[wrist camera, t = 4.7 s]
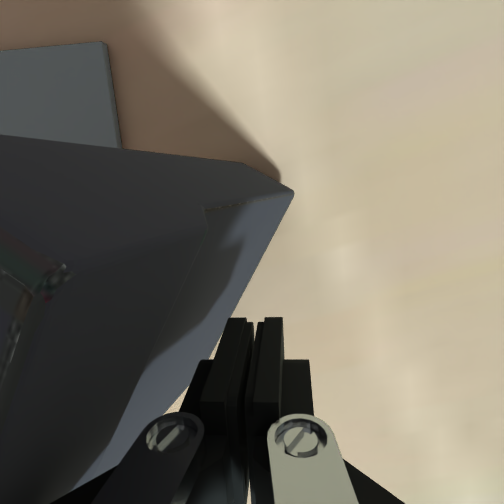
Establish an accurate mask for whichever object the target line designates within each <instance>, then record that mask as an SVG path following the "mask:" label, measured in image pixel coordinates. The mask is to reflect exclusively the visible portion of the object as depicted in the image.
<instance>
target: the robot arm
mask: <svg viewBox="0 0 504 504" xmlns="http://www.w3.org/2000/svg"><path fill="white" fill-rule="evenodd" d="M249 479H250V491H251V504H405V503H404V502H402V501H401V500H399V499H398V498H397V497H395V496H394V495H393V494H391V493H390V492H388V491H387V490H386V489H384V488H383V487H381V486H380V485H379V484H377V483H376V482H374V481H373V480H372V479H370V478H369V477H368V476H366V475H365V474H363V473H362V472H361V471H359V470H358V469H356V468H355V467H354V466H352V465H351V464H350V463H348V462H347V461H345V460H344V459H343V458H342V455H341V452H340V450H339V447H338V444H337V441H336V438H335V436H334V433H333V431H332V430H331V428H330V426H329V425H327V424H326V423H325V422H324V421H323V420H321V419H319V418H317V417H315V416H314V410H313V399H312V387H311V376H310V364H309V360H284V337H283V317H265V320H264V322H258V325H257V331H256V336H255V341H254V326H253V322H247V319H246V318H228V320H227V323H226V326H225V328H224V331H223V334H222V337H221V340H220V343H219V346H218V349H217V352H216V354H215V357H214V359H202V360H200V362H199V363H198V366H197V368H196V371H195V373H194V376H193V378H192V381H191V383H190V385H189V388H188V390H187V393H186V395H185V398H184V400H183V403H182V405H181V408H180V410H179V412H173V413H168V414H165V415H162V416H160V417H158V418H156V419H155V420H153V421H152V422H150V423H149V424H148V425H147V426H146V427H145V428H144V429H143V430H142V432H141V433H140V435H139V436H138V438H137V439H136V440H135V442H134V443H133V445H132V446H131V447H130V449H129V450H128V452H127V453H126V454H125V456H124V457H123V459H122V460H121V462H120V463H119V464H118V465H117V466H115V467H113V468H111V469H110V470H108V471H106V472H104V473H103V474H101V475H99V476H97V477H96V478H94V479H92V480H90V481H89V482H87V483H85V484H83V485H81V486H80V487H78V488H76V489H74V490H73V491H71V492H69V493H67V494H66V495H64V496H62V497H60V498H59V499H57V500H55V501H53V502H51V503H50V504H247V496H248V488H249Z"/></svg>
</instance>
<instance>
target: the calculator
mask: <svg viewBox="0 0 504 504" xmlns="http://www.w3.org/2000/svg"><path fill="white" fill-rule="evenodd" d="M293 197H294V191H293V190H292V189H290V188H288V187H286V186H285V185H283V184H281V183H279V182H277V181H275V180H274V179H272V178H270V177H268V176H266V175H264V174H263V173H261V172H259V171H257V170H255V169H253V168H251V167H249V166H247V165H246V164H244V163H239V162H231V161H222V160H214V159H205V158H197V157H188V156H180V155H171V154H163V153H154V152H146V151H137V150H129V149H120V148H112V147H103V146H95V145H86V144H78V143H69V142H61V141H52V140H44V139H35V138H27V137H18V136H10V135H1V134H0V504H50V503H51V502H53V501H55V500H57V499H59V498H60V497H62V496H64V495H66V494H67V493H69V492H71V491H73V490H74V489H76V488H78V487H80V486H81V485H83V484H85V483H87V482H89V481H90V480H92V479H94V478H96V477H97V476H99V475H101V474H103V473H104V472H106V471H108V470H110V469H111V468H113V467H115V466H117V465H118V464H119V463H120V462H121V460H122V459H123V457H124V456H125V454H126V453H127V452H128V450H129V449H130V447H131V446H132V445H133V443H134V442H135V440H136V439H137V438H138V436H139V435H140V433H141V432H142V430H143V429H144V428H145V427H146V426H147V425H148V424H149V423H150V422H152V421H153V420H155V419H156V418H158V417H160V416H162V415H163V414H164V413H165V412H166V411H167V410H168V409H169V407H170V406H171V405H172V404H173V403H174V402H175V401H176V399H177V398H178V397H179V396H180V395H181V394H182V393H183V392H184V390H185V389H186V388H187V387H188V386H189V385H190V383H191V381H192V378H193V376H194V373H195V371H196V368H197V366H198V363H199V362H200V360H202V359H209V357H210V355H211V353H212V351H213V350H214V348H215V346H216V344H217V342H218V340H219V338H220V336H221V334H222V332H223V330H224V328H225V326H226V323H227V320H228V318H230V317H231V315H232V313H233V311H234V310H235V308H236V306H237V304H238V302H239V300H240V298H241V296H242V294H243V292H244V291H245V289H246V287H247V285H248V283H249V281H250V279H251V277H252V275H253V273H254V271H255V270H256V268H257V266H258V264H259V262H260V260H261V258H262V256H263V254H264V252H265V251H266V249H267V247H268V245H269V243H270V241H271V239H272V237H273V235H274V233H275V231H276V230H277V228H278V226H279V224H280V222H281V220H282V218H283V216H284V214H285V212H286V211H287V209H288V207H289V205H290V203H291V201H292V199H293Z"/></svg>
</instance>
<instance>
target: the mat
mask: <svg viewBox="0 0 504 504" xmlns="http://www.w3.org/2000/svg"><path fill="white" fill-rule="evenodd" d="M0 134H1V135H10V136H18V137H27V138H35V139H44V140H52V141H61V142H69V143H78V144H86V145H95V146H103V147H112V148H120V149H122V144H121V137H120V131H119V124H118V117H117V110H116V103H115V96H114V90H113V83H112V76H111V69H110V62H109V56H108V49H107V44H106V43H104V42H102V41H101V42H90V43H79V44H69V45H58V46H47V47H37V48H26V49H15V50H4V51H0Z"/></svg>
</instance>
